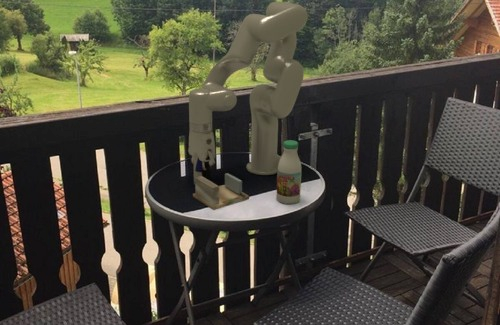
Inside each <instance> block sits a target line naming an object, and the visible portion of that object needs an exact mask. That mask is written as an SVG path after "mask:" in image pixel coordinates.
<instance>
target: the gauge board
mask: <svg viewBox="0 0 500 325" xmlns="http://www.w3.org/2000/svg"><path fill="white" fill-rule="evenodd" d="M194 185H195V186H194V188H195V193H192V197H193V198H194V199H196V200H197V201H199V202H201V203H202V204H204V205H205V206H207V207H208V208H210V209H212V210H214V211H215V210H219V209H221V208H224V207H227V206H231V205H233V204H237V203H239V202H243V201H246V200H249V199H250V195H248V194H246V193H245V192H243V191H242V194H244V195H246V197H244V196H242V195H240V194H238V193H236V192H234V191H232V190H231V189H229V188H227V187H225V184H222V185H217V184H216V183H215V182H213V181H211V180H210V179H209V180H208V179H206V178H204V177H202V176H200V177H196V178H195V184H194Z"/></svg>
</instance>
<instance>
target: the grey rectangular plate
mask: <svg viewBox="0 0 500 325" xmlns="http://www.w3.org/2000/svg"><path fill="white" fill-rule="evenodd" d="M224 185H225V187H227V188H229V189H231V190H232V191H234V192H236V193H238V194H240V195H242V196H244V197H246V195H244V194H242V192H243V180H241V179H239V178H238V177H236V176H234V175H233V174H230V173H228V172H227V173H224Z"/></svg>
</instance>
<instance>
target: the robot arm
mask: <svg viewBox="0 0 500 325" xmlns="http://www.w3.org/2000/svg"><path fill="white" fill-rule="evenodd" d="M307 21H308V13H307V9H306V8H305V7H303V6H302V5H301V4H296V3H292V2H286V1H279V0H278V1H273V2H270V3H269V4H268V6H267V7H266V11H265V15H264V14H259V13H250V14H248V15H246V16H245V17H244V19H243V20H242V22H241V23H240V27H239V29H238V31H237V33H236V35H235V37H234V39H233V41H232V43H231V45H230V47H229V50H228V51H227V53H226V54H225V55H224V56H223V57H222V58H221V59H220V60H219V61H217V62H216V63H215V64H214V66H213V67H212V68H211V69H210V71H209V73H208V75H207V76H206V78H205V81H204V82H203V85H202V88H195V89H192V90H190V91H189V93H188V112H189V113H188V115H189V116H188V118H189V120H188V121H189V134H188V148H187V152H188V154H189V156H190V162H191V165H192V166H191V167H192V168H191V171H192V172H191V173H192V175H193V176H194V163H193V153H194V152H195V153H197V155H198V158H199V160H200V161H202V165H203V169H202V177H204V178H206V179H209V180H210V179H211V178H212V177H211V176H212V173H211V172H212V171H211V170H212V168H213V166H214V165H215V164H216V161H215V160H216V144H215V137H214V132H213V112H226V111H230V110H232V109H233V108H234V107H235V106H236V105H237V103H238V102H237V101H238V99H237V95H236V93H235V92H234V91H233V90H232V89H230V88H227V87H226V86H225V83H226V82H227V80H228V79H229V78H230V77H231V76H232V75H233V74H234V73H236V72H238V71H240V70H243V69H245V68H247V67H249V66H251V64H252V63H253V61H254V59H255V56H256V54H257V52H258V49H259V48H260V46H261V44H262V43H264V44H270V47H269V51H268V54H267V56H266V59H265V63H264V65H263V68H262V75H263V77H264V79H265V80H267V81H269V82H271V83H273V84H275V85H276V87H274V86H273V85H270V84H264V83H261V84H257V85H256V86H254V87H253V89H252V90H251V92H250V93H249V94H250V95H249V106H250V107H249V108H250V113H251V135H250V136H251V138H250V142H251V143H250V148H251V149H250V161H249V162H248V163H247V164H246V170H247V171H248V172H249V173H251V174H254V175H260V176H270V175H275V174H277V172H278V164H279V161H280V159H281V157H282V155H279V154H278V136H279V135H278V134H279V119H284V118H286V117H287V116H289V114H291V112H292V111H293V109H294V106H295V103H296V101H297V98H298V95H299V92H300V89H301V87H302V83H303V81H304V75H305V74H304V68H303V66H302V64H301V63H300V62H299V61H298V60H296V59H293V58H294V55H295V52H296V49H297V42H298V41H297V34H296V33H298V32H299V31H301V30H302V29H303V28H304V27H305V25H306V24H307ZM206 158H208V160H206ZM205 162H208V164H207V165H206V164H205Z"/></svg>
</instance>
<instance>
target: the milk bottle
mask: <svg viewBox="0 0 500 325" xmlns="http://www.w3.org/2000/svg"><path fill="white" fill-rule="evenodd" d="M298 149H299V142H298V141H296V140H292V139H289V140H288V139H287V140H284V141H283V153H282V155H281V156H282V157H281V159H280V161H279V164H278V172H277V173H276V174H277V175H276V196H275V198H276V200H277V201H278V203H281V202H282V204H284V203H294V204H297V203H298V202H299V201H300V200H301V188H302V187H301V186H302V185H301V184H302V162H301V159H300V157H299V155H298ZM296 202H297V203H296Z"/></svg>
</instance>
